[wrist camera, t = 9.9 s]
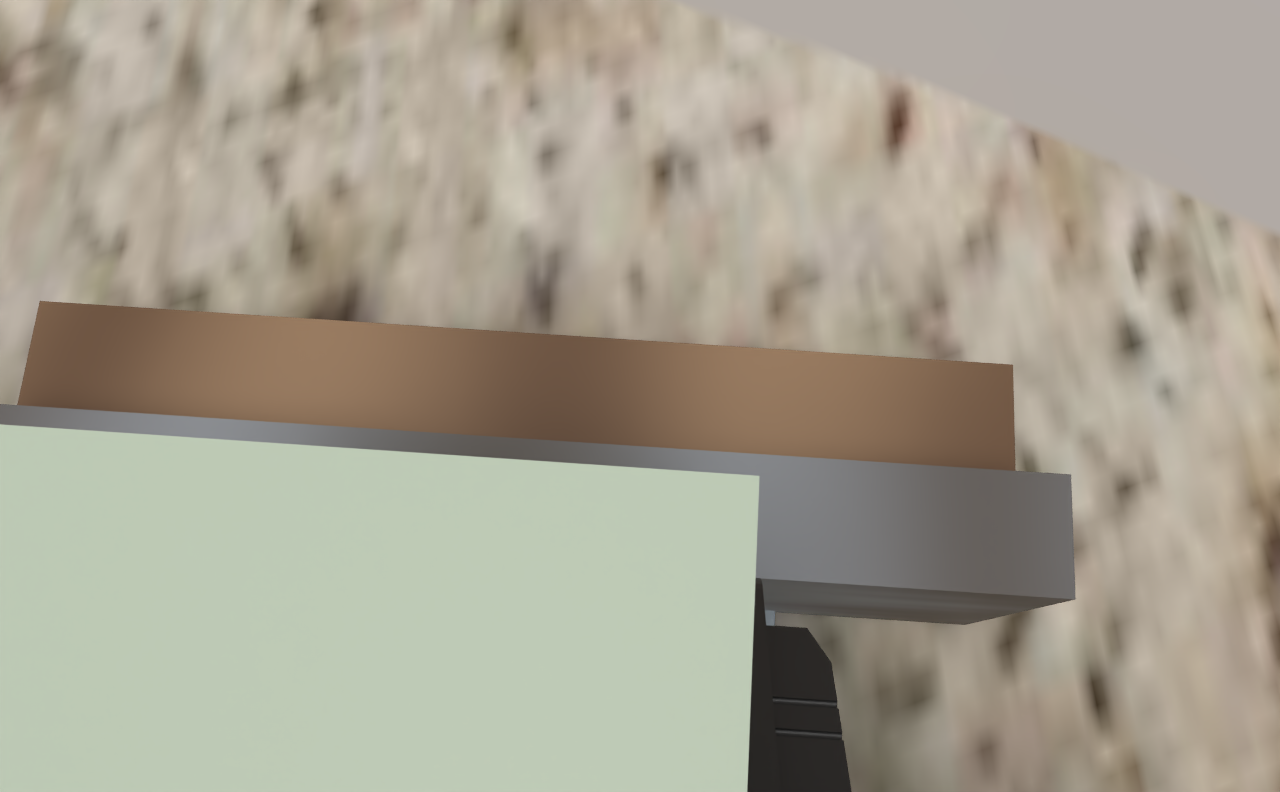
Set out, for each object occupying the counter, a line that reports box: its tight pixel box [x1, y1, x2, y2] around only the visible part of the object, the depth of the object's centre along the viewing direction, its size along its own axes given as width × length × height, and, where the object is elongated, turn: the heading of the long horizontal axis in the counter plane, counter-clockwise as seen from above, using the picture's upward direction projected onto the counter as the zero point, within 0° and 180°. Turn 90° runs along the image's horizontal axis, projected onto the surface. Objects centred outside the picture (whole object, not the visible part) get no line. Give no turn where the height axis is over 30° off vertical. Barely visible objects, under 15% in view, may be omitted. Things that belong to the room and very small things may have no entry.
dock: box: [0, 301, 1075, 626], centre depth 15 cm, size 14×10×4 cm
